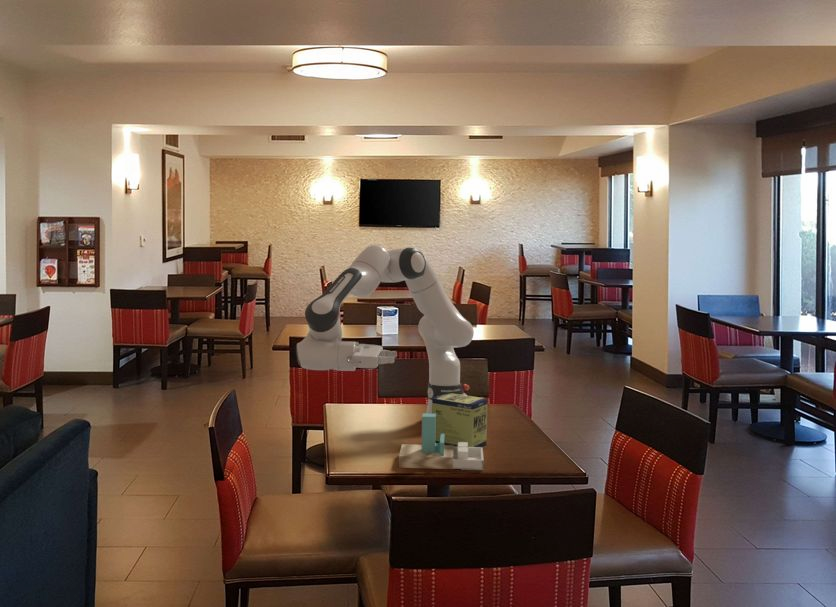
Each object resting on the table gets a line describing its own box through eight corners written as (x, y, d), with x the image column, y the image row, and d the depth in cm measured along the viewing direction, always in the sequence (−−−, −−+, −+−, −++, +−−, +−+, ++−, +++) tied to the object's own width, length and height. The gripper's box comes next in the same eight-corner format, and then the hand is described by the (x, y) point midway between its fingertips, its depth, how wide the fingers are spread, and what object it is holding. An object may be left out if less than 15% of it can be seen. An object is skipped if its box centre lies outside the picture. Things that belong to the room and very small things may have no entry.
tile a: (457, 446, 255) (467, 446, 255) (457, 442, 259) (467, 442, 259) (457, 460, 256) (467, 460, 255) (457, 456, 260) (467, 456, 260)
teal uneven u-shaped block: (421, 455, 250) (421, 418, 249) (422, 445, 260) (423, 411, 259) (443, 455, 250) (444, 419, 249) (444, 446, 260) (444, 411, 258)
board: (398, 467, 249) (398, 456, 249) (401, 455, 262) (401, 444, 262) (452, 469, 249) (453, 457, 248) (453, 456, 261) (453, 445, 261)
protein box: (472, 452, 267) (473, 404, 265) (430, 444, 275) (431, 397, 273) (487, 444, 275) (488, 398, 274) (446, 437, 284) (447, 392, 282)
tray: (452, 469, 248) (453, 459, 248) (453, 455, 262) (453, 446, 262) (483, 470, 248) (483, 460, 247) (482, 456, 262) (482, 447, 261)
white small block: (458, 451, 249) (468, 451, 249) (458, 447, 254) (468, 447, 254) (457, 466, 250) (467, 466, 250) (457, 461, 254) (467, 462, 254)
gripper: (344, 351, 242) (392, 352, 242) (353, 340, 263) (398, 341, 262) (344, 373, 243) (392, 374, 242) (353, 360, 263) (397, 361, 263)
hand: (395, 357), depth 252 cm, fingers open, 8 cm apart
